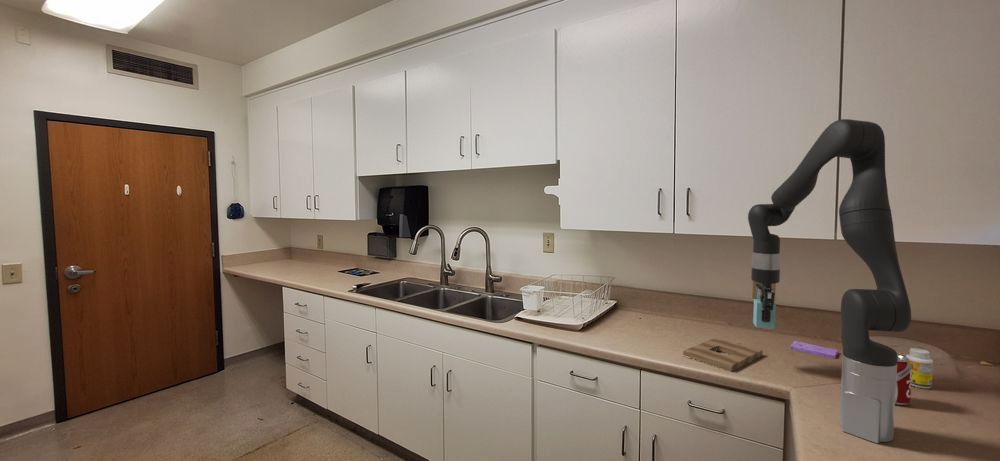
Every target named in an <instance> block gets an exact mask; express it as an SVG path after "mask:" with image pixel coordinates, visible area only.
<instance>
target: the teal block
mask: <svg viewBox="0 0 1000 461" xmlns="http://www.w3.org/2000/svg"><path fill="white" fill-rule="evenodd" d="M766 306H769V303H766ZM761 307H762V303H761V302H760V301H759V300H758V299H756V298H754V299H753V317H752V318H753V319H752V323H753V325H754V326H755V327H756V328H758V329H759V328H760V329H769V330H775V329H776V313H777V312H776V309H777V304H776V303H775V302H774V304H773V310H771V313H770V322H763V321H762V309H761Z"/></svg>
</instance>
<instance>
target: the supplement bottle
mask: <svg viewBox="0 0 1000 461" xmlns="http://www.w3.org/2000/svg"><path fill="white" fill-rule="evenodd" d="M930 354H931V353H930V351H928V350H926V349H922V348H917V347H912V348H911V347H910V348H909V352H908V354H906V355H905V357H907V358H908V359H909V363H910V364H911V365H912V382H911V385H912V386H911V387H914V386H915V388H918V389H931V388H932V387H933V379H934V378H933V377H934V376H933V374H934V360H933V359H932V358H930Z"/></svg>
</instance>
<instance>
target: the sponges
mask: <svg viewBox="0 0 1000 461" xmlns="http://www.w3.org/2000/svg"><path fill="white" fill-rule="evenodd" d="M790 350H793V351H798V352H802V353H807V354H812V355H816V356H821V357H825V358H830V359H836V357H837V356H838V353H839V350H837V349H834V348H828V347H823V346H821V345H815V344H810V343H806V342H801V341H799V340H794V341H793V343H792V344H791V345H790Z"/></svg>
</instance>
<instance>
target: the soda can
mask: <svg viewBox="0 0 1000 461" xmlns="http://www.w3.org/2000/svg"><path fill="white" fill-rule="evenodd" d="M897 355H898V360H897V377H896V395H895V406H905V405H909V404H911V401H912V400H911V396H912V386H911V382H912V365H911V364H910V363H909V359H908V358H907V357H906V356H903V355H901V354H897Z"/></svg>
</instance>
